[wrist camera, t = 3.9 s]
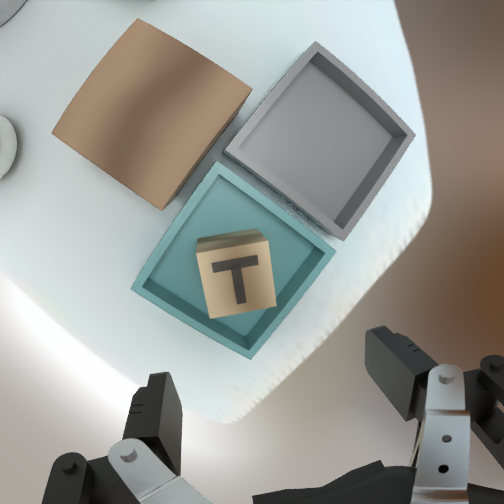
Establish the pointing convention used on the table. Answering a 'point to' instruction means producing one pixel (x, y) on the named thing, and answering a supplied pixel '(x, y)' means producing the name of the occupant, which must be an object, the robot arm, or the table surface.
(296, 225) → the teal bin
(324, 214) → the gray bin
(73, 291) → the table surface
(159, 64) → the walnut stand
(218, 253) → the letter cube
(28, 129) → the table surface
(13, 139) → the plastic bottle
